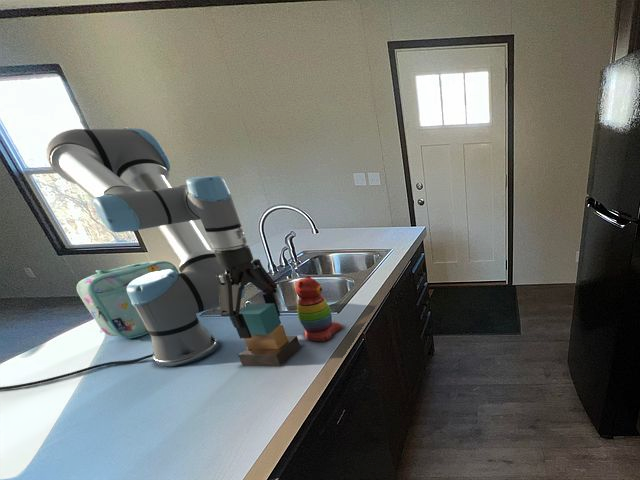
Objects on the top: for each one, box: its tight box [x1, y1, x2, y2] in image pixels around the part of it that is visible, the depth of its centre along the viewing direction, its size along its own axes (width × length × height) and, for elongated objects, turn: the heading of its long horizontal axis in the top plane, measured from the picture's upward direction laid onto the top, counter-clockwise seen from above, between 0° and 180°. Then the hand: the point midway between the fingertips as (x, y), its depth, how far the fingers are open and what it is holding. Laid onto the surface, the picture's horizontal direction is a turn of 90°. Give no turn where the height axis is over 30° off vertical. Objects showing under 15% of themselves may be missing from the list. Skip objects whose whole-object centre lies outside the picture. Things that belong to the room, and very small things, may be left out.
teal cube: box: [239, 302, 282, 335], centre depth 101 cm, size 7×7×6 cm
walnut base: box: [237, 335, 301, 367], centre depth 106 cm, size 11×11×4 cm
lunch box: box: [76, 260, 180, 339], centre depth 123 cm, size 27×10×21 cm, turn 158°
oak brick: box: [243, 324, 288, 349], centre depth 104 cm, size 9×5×5 cm, turn 85°
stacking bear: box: [294, 275, 343, 342], centre depth 114 cm, size 11×10×18 cm
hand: (261, 326), depth 102 cm, fingers open, 13 cm apart
